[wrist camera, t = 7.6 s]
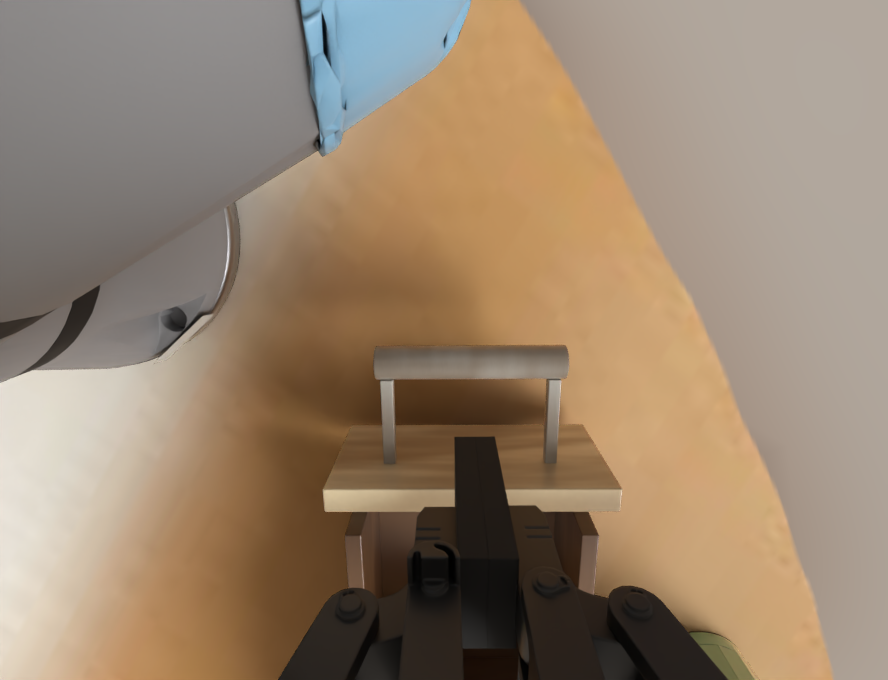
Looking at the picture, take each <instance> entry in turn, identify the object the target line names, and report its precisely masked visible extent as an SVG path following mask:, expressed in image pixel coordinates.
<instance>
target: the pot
mask: <svg viewBox="0 0 888 680" xmlns="http://www.w3.org/2000/svg"><path fill="white" fill-rule="evenodd" d="M689 634H690V635H691V636H692V638H693V639H694V640H695V641H696V642H697V643H698V645H699V646H700V647H701V648H702V649H703V650H704V652H705V653H706V654H707V655H708V656H709V657H710V659H711V660H712V661H713V662H714V663H715V665H716V666H717V667H718V668H719V669H720V670H721V672H722V673H723V674H724V675H725V676H726V677H727V679H728V680H760V679H759V678H758V676H757V675H756V673H755V672H754V670H753V669H752V667H751V666H750V664H749V663H748V662H747V661H746V660H745V658H744V657H743V655H742V654H741V652H740V651H739V649H738V648H737V647H736V646H735V645H734V644H733V643H732V642H731V641H729V640H727V639H726V638H724V637H722V636H719V635H716V634H713V633H707V632H691V633H689Z"/></svg>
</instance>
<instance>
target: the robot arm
mask: <svg viewBox="0 0 888 680" xmlns="http://www.w3.org/2000/svg"><path fill="white" fill-rule="evenodd" d="M470 3H471V0H0V383H1V382H4V381H6V380H8V379H10V378H13V377H16V376H18V375H21V374H23V373H26V372H28V371H31V370H68V369H107V368H118V367H123V366H129V365H134V364H138V363H142V362H146V361H149V360H152V359H155V358H157V357H160V356H161V357H160V358H159V359H158V360H157V361H156V362H155V363H158V362H161V361H165V360H168V359H169V358H170V357H171V356H172V355H173V354H174V353H175V352H176V351H177V350H178V349H179V348H180V347H181V346H182V345H183V344H185V343H187V342H188V341H190V340H191V339H193V338H194V337H195V336H197V335H198V334H199V333H200V332H202V331H203V330H204V329H205V328H206V327H207V326H208V325H209V324H210V323H211V322H212V320H213V319H214V318H215V317H216V315H217V314H218V313H219V311H220V310H221V308H222V306H223V305H224V303H225V302H226V299H227V297H228V295H229V293H230V291H231V289H232V286H233V283H234V280H235V276H236V272H237V268H238V262H239V255H240V228H239V220H238V214H237V209H236V205H235V201H237V200H238V199H240V198H241V197H243V196H245V195H246V194H248V193H250V192H251V191H253V190H254V189H256V188H258V187H259V186H261V185H263V184H264V183H266V182H267V181H269V180H271V179H272V178H274V177H276V176H277V175H279V174H280V173H282V172H284V171H285V170H287V169H289V168H290V167H292V166H293V165H295V164H297V163H298V162H300V161H302V160H303V159H305V158H306V157H308V156H310V155H311V154H313V153H315V152H316V151H319V153H320V154H321V156H322V157H323V156H325V155H327V154H329V153H330V152H332V151H334V150H335V149H336V148H337V147H338V146H339V145H340V144H341V140H342V135H343V133H344V132H345V131H346V130H348V129H349V128H351V127H352V126H354V125H355V124H356V123H358V122H359V121H361V120H362V119H364V118H365V117H366V116H368V115H369V114H371V113H372V112H374V111H375V110H377V109H378V108H379V107H381V106H382V105H384V104H385V103H387V102H388V101H390V100H391V99H393V98H394V97H396V96H397V95H398V94H400V93H401V92H403V91H404V90H406V89H407V88H409V87H410V86H412V85H413V84H415V83H416V82H417V81H419V80H420V79H422V78H423V77H425V76H426V75H427V74H429V73H430V72H431V71H432V70H433V69H435V68H436V67H437V66H438V65H439V63H440V62H441V61H442V60H443V59H444V58H445V57H446V56H447V55H448V53H449V52H450V50H451V49H452V47H453V46H454V44H455V42H456V41H457V39H458V36H459V34H460V31H461V28H462V26H463V23H464V21H465V18H466V15H467V13H468V10H469V7H470ZM153 364H154V363H153ZM454 451H455V507H424V508H423V510H422V511H421V512H420V514H419V515H418V516H417V523H416V533H415V543H414V547H413V548H412V549H411V550H410V551H409V554H408V556H407V574H408V583H407V584H406V585H405V586H404V587H403V588H402V589H401V590H399V591H398V592H396V593H394V594H391V595H389V596H386V597H382V598H378V599H377V598H376V596H375V595H374V594H373V593H372V592H371V591H368V590H366V589H363V588H348V589H344V590H341V591H339V592H337V593H336V594H334V595H332V596H331V597H330V598H329V599H328V601H327V602H326V603H325V604H324V606H323V608H322V609H321V611H320V612H319V614H318V616H317V617H316V619H315V620H314V622H313V624H312V625H311V627H310V629H309V630H308V632H307V633H306V635H305V637H304V638H303V640H302V642H301V643H300V645H299V646H298V648H297V650H296V651H295V653H294V655H293V656H292V658H291V659H290V661H289V663H288V664H287V666H286V667H285V669H284V671H283V672H282V674H281V676H280V677H279V679H278V680H464V673H463V649H516V637H517V642H518V648H519V659H518V680H728V679H727V677H726V676H725V675H724V674H723V673H722V672H721V670H720V669H719V668H718V667H717V666H716V665H715V663H714V662H713V661H712V660H711V659H710V657H709V656H708V655H707V654H706V653H705V652H704V650H703V649H702V648H701V647H700V646H699V645H698V643H697V642H696V641H695V640H694V639H693V638H692V636H691V635H690V634H689V633H688V632H687V630H686V629H685V628H684V627H683V626H682V625H681V623H680V622H679V621H678V620H677V619H676V618H675V616H674V615H673V614H672V613H671V612H670V611H669V609H668V608H667V607H666V606H665V605H664V603H663V602H662V601H661V600H660V599H658V598H657V597H656V596H655V595H654V594H652V593H650V592H648V591H646V590H645V589H642V588H638V587H634V586H621V587H618V588H616V589H614V590H613V591H612V592H611V593H610V594H609V598H605V597H601V596H597V595H593V594H590V593H587V592H584V591H582V590H580V589H578V588H577V587H575V586H574V583H573V582H572V580H571V578H570V577H569V576H568V575H566V574H565V573H564V572H563V569H562V566H561V563H560V559H559V556H558V553H557V550H556V547H555V544H554V540H553V538H552V534H551V531H550V529H549V524H548V521H547V518H546V515H545V514H544V513H543V512H542V511H541V510H540V509H539V508H538V507H537V506H536V505H509V504H508V499H507V494H506V490H505V485H504V480H503V475H502V470H501V465H500V460H499V455H498V450H497V445H496V440H495V436H491V437H454Z"/></svg>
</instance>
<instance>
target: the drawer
mask: <svg viewBox="0 0 888 680" xmlns="http://www.w3.org/2000/svg"><path fill="white" fill-rule="evenodd" d="M373 366H374V376H375V379H377V380H380V390H381V413H382V425H352V426H351V428H350V430H349V432H348V434H347V437H346V439H345V441H344V443H343V446H342V448H341V450H340V452H339V454H338V457H337V459H336V461H335V463H334V466H333V468H332V470H331V472H330V475H329V477H328V479H327V481H326V484H325V486H324V488H323V500H324V511H325V512H352V515H351V518H350V521H349V524H348V527H347V531H346V534H345V545H346V559H347V574H348V588H363V589H366V590H368V591H371V592H372V593H373V594H374V595H375V596H376V598H377V599H378V598H382V597H386V596H389V595H391V594H394V593H396V592H398V591H399V590H401V589H402V588H403V587H404V586H405V585H406V584H407V583H408V574H407V556H408V554H409V551H410V550H411V549H412V548H413V547H414V543H415V533H416V523H417V516H418V515H419V514H420V512H421V511H422V510H423V508H424V507H455V451H454V437H491V436H495V440H496V445H497V450H498V455H499V460H500V465H501V470H502V475H503V480H504V485H505V490H506V494H507V499H508V504H509V505H536V506H537V507H538V508H539V509H540V510H541V511H542V512H543V513H544V514H545V515H546V518H547V521H548V524H549V529H550V531H551V534H552V538H553V540H554V544H555V547H556V550H557V553H558V556H559V559H560V563H561V566H562V569H563V572H564V573H565V574H566V575H568V576H569V577H570V578H571V580H572V582H573V583H574V586H575V587H577V588H578V589H580V590H582V591H584V592H587V593H590V594H593V595H594V587H595V575H596V564H597V552H598V540H599V535H598V532H597V530H596V528H595V526H594V524H593V521H592V519H591V517H590V515H589V513H588V512H619V511H620V509H621V498H622V488H621V486H620V485H619V483H618V481H617V480H616V478H615V476H614V475H613V473H612V471H611V470H610V468H609V467H608V465H607V463H606V462H605V460H604V458H603V457H602V455H601V454H600V452H599V450H598V449H597V447H596V445H595V444H594V442H593V440H592V439H591V437H590V436H589V434H588V432H587V431H586V429H585V427H584V426H583V425H559V412H560V394H561V379H565V378H567V376H568V371H569V354H568V350H567V347H566V346H565V345H466V346H376V347H375V350H374V360H373ZM394 379H547V381H546V401H545V422H544V425H395V397H394ZM518 659H519V648H518V642H517V637H516V649H463V673H464V680H518Z"/></svg>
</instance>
